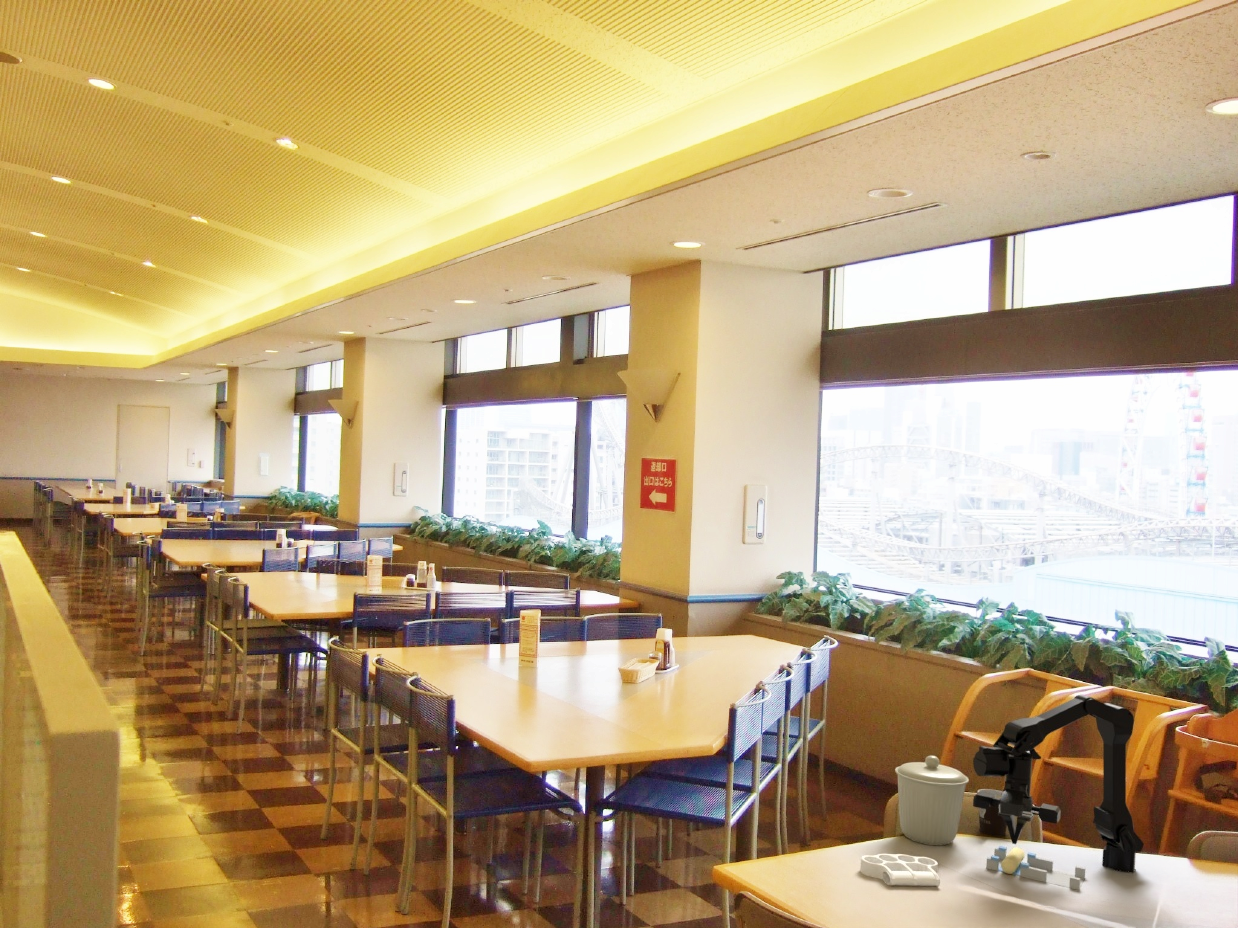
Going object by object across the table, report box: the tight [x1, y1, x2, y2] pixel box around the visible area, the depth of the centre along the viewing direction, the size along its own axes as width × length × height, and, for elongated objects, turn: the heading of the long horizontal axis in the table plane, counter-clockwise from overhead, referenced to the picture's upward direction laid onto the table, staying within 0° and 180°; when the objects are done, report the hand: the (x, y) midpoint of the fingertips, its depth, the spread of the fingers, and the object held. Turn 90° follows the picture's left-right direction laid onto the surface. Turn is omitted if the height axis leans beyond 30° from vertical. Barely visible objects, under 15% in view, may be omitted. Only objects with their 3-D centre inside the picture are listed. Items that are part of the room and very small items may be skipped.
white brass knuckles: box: [859, 853, 941, 887], centre depth 236 cm, size 3×18×15 cm
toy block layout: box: [985, 845, 1086, 891], centre depth 241 cm, size 20×10×4 cm, turn 59°
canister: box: [894, 755, 970, 846], centre depth 265 cm, size 18×18×21 cm
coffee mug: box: [976, 788, 1008, 837], centre depth 276 cm, size 12×9×10 cm
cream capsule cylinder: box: [1001, 847, 1026, 875], centre depth 243 cm, size 13×3×3 cm, turn 149°
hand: (1014, 843), depth 244 cm, fingers closed
